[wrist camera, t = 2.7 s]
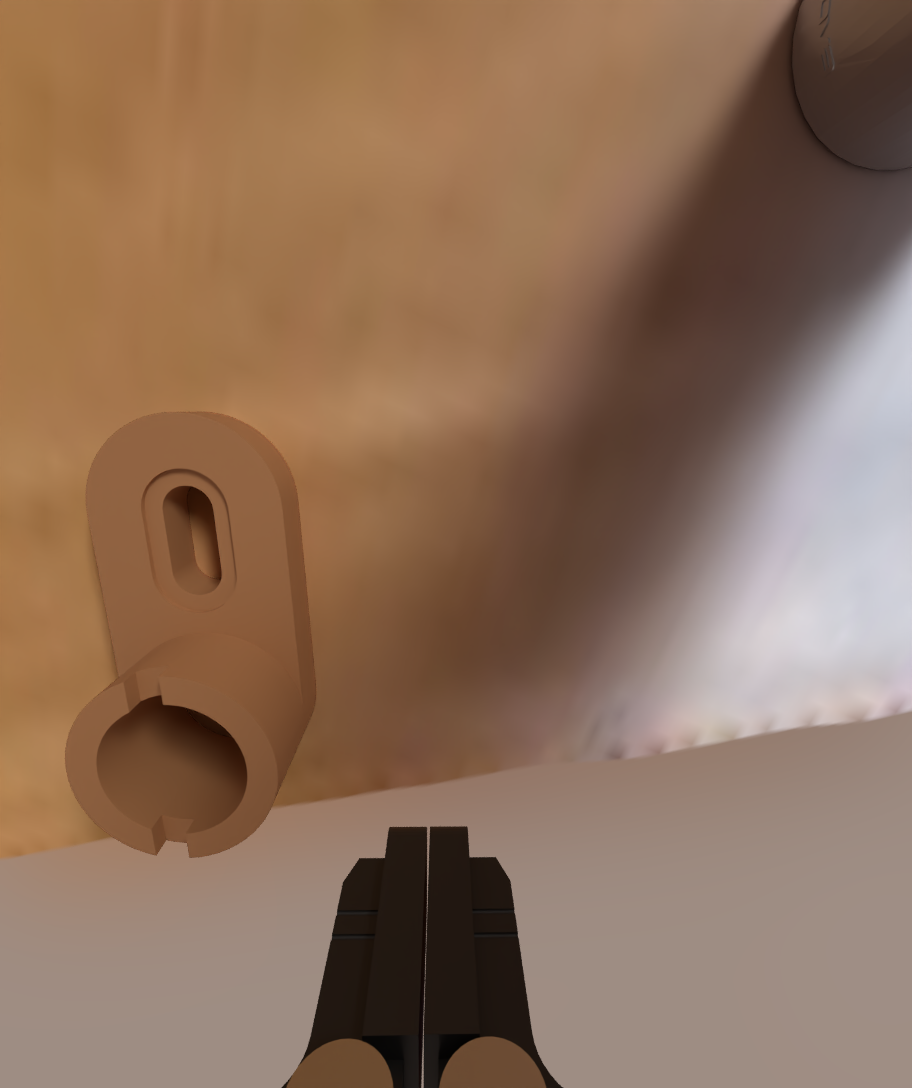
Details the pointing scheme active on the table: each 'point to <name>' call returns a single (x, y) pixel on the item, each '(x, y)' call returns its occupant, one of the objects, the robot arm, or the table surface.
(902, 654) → the table surface
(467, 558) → the table surface
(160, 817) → the bracket
